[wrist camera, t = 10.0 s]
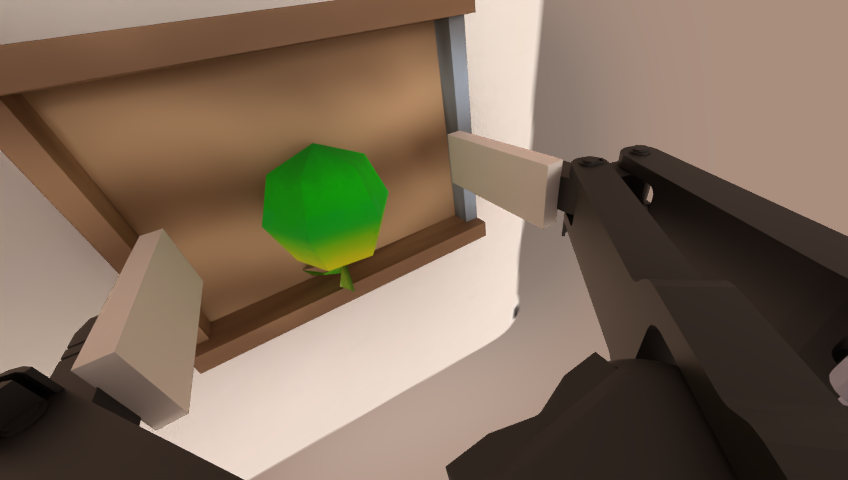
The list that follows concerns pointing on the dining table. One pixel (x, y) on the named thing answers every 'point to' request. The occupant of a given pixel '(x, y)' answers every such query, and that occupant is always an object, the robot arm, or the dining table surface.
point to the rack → (247, 144)
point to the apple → (325, 208)
